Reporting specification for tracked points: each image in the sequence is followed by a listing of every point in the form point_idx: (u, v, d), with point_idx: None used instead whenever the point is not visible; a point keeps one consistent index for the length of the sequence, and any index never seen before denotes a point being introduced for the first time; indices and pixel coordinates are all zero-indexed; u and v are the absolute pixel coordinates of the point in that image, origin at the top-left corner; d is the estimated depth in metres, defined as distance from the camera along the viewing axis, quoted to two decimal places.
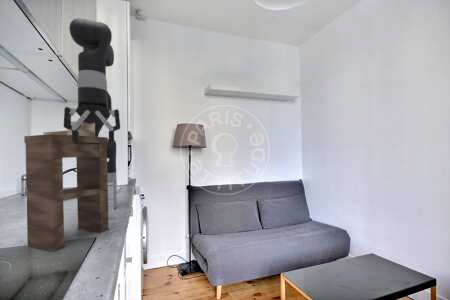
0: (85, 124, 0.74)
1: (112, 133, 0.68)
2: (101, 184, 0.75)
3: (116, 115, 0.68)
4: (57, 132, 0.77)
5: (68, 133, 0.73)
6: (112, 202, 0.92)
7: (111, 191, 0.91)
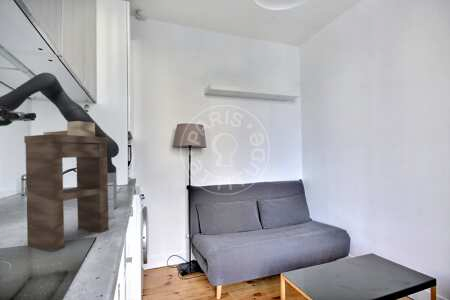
0: (85, 124, 0.74)
1: None
2: (101, 184, 0.75)
3: (26, 114, 0.92)
4: (57, 132, 0.77)
5: (68, 133, 0.73)
6: (112, 202, 0.91)
7: (111, 191, 0.91)
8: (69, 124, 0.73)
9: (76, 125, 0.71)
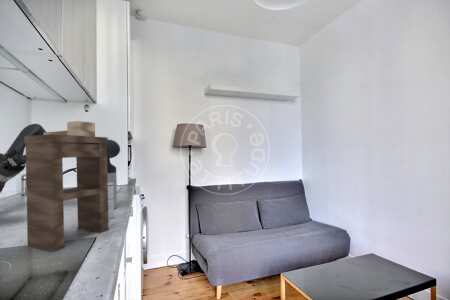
0: (85, 124, 0.74)
1: None
2: (101, 184, 0.75)
3: None
4: (57, 132, 0.77)
5: (68, 133, 0.73)
6: (112, 202, 0.92)
7: (111, 191, 0.91)
8: (69, 124, 0.73)
9: (76, 125, 0.71)
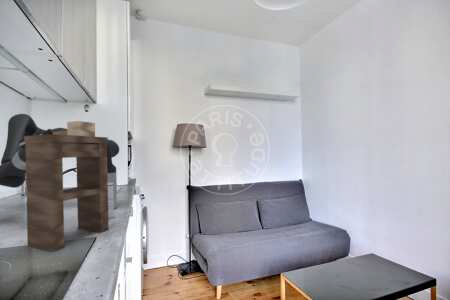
0: (85, 124, 0.74)
1: None
2: (101, 184, 0.75)
3: None
4: (57, 132, 0.77)
5: (68, 133, 0.73)
6: (112, 202, 0.91)
7: (111, 191, 0.91)
8: (69, 124, 0.73)
9: (76, 125, 0.71)
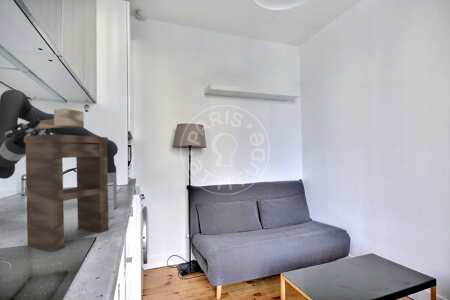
0: (72, 112, 0.70)
1: None
2: (101, 184, 0.75)
3: None
4: (44, 121, 0.74)
5: (55, 121, 0.69)
6: (112, 202, 0.92)
7: (111, 191, 0.91)
8: (56, 112, 0.69)
9: (63, 113, 0.68)
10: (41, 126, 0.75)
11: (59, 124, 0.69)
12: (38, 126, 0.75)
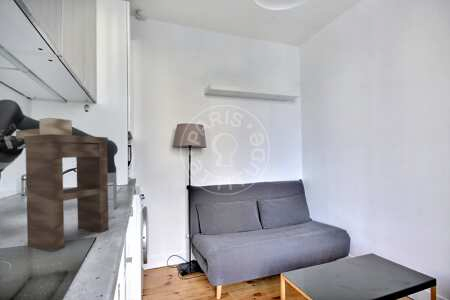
0: (59, 121, 0.66)
1: None
2: (101, 184, 0.75)
3: None
4: (30, 130, 0.70)
5: (40, 131, 0.65)
6: (112, 202, 0.91)
7: (111, 191, 0.91)
8: (41, 121, 0.65)
9: (49, 122, 0.64)
10: None
11: (45, 134, 0.65)
12: (23, 136, 0.71)
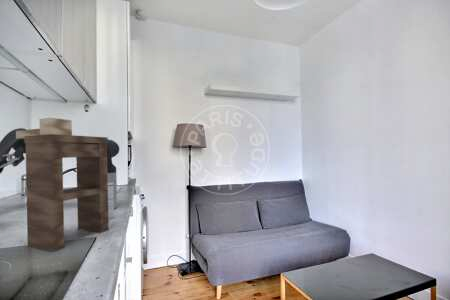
0: (59, 121, 0.66)
1: None
2: (101, 184, 0.75)
3: None
4: (30, 130, 0.70)
5: (40, 131, 0.65)
6: (112, 202, 0.92)
7: (111, 191, 0.91)
8: (41, 121, 0.65)
9: (49, 122, 0.64)
10: None
11: (45, 134, 0.65)
12: (23, 136, 0.71)
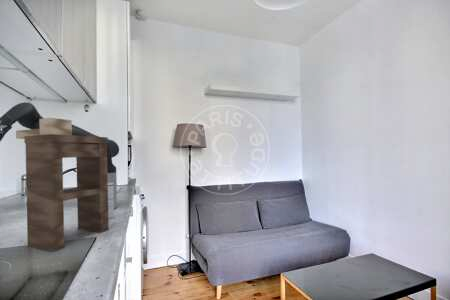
0: (59, 121, 0.66)
1: None
2: (101, 184, 0.75)
3: None
4: (30, 130, 0.70)
5: (40, 131, 0.65)
6: (112, 202, 0.92)
7: (111, 191, 0.91)
8: (41, 121, 0.65)
9: (49, 122, 0.64)
10: None
11: (45, 134, 0.65)
12: (23, 136, 0.71)
